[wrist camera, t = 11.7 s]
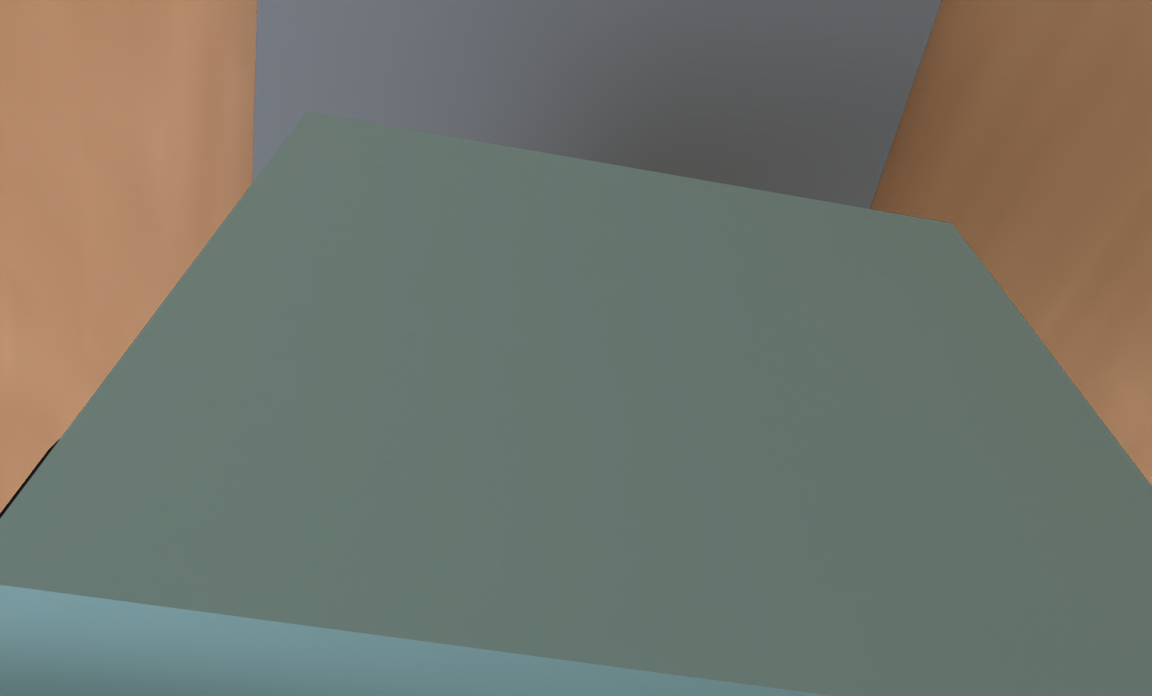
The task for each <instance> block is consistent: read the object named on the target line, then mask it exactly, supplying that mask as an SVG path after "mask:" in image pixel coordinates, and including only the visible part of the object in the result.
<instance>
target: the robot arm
mask: <svg viewBox="0 0 1152 696" xmlns="http://www.w3.org/2000/svg"><path fill="white" fill-rule="evenodd" d="M59 440H60V439H59ZM59 440H58V441H59ZM58 441H57V442H56V443H55V444H54V445H53V446H52V447H51V448H50V449H49V450H48V451H47V453H46V454H45V455H44V457H43V458H42V459H41V461H40V462H39V463H38V464H37V466H36V467H35V468H34V470H33V471H32V472H31V474H30V475H29V476H28V478H27V479H26V480H25V482H24V483H23V484H22V486H21V487H20V488H19V490H18V491H17V492H16V494H15V495H14V496H13V497H12V499H11V500H10V501H9V503H8V504H7V505H6V507H5V508H4V509H3V511H2V512H1V513H0V518H1V517H2V516H3V514H4V513H5V512H6V510H7V509H8V508H9V506H10V505H11V504H12V502H13V501H14V500H15V498H16V497H17V496H18V494H19V493H20V492H21V490H22V489H23V488H24V486H25V485H26V484H27V483H28V481H29V480H30V479H31V477H32V476H33V475H34V473H35V472H36V471H37V469H38V468H39V467H40V465H41V464H42V463H43V461H44V460H45V459H46V457H47V456H48V455H49V453H50V452H51V451H52V449H53V448H54V447H55V445H56V444H57V443H58Z"/></svg>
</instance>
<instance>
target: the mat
mask: <svg viewBox="0 0 1152 696" xmlns="http://www.w3.org/2000/svg"><path fill="white" fill-rule="evenodd" d="M941 1H942V0H257V30H256V68H255V107H254V145H253V182H254V181H255V179H256V178H257V177H258V175H259V174H260V173H261V171H262V170H263V169H264V167H265V166H266V165H267V163H268V162H269V161H270V159H271V158H272V157H273V155H274V154H275V153H276V151H277V150H278V149H279V147H280V146H281V145H282V143H283V142H284V141H285V139H286V138H287V137H288V135H289V134H290V133H291V131H292V130H293V129H294V127H295V126H296V125H297V123H298V122H299V121H300V119H301V118H302V117H303V115H304V114H305V113H306V111H307V112H313V113H318V114H324V115H330V116H336V117H341V118H347V119H353V120H359V121H365V122H370V123H376V124H382V125H388V126H393V127H399V128H405V129H411V130H417V131H422V132H428V133H434V134H440V135H445V136H451V137H457V138H463V139H469V140H474V141H480V142H486V143H492V144H497V145H503V146H509V147H515V148H521V149H526V150H532V151H538V152H544V153H549V154H555V155H561V156H567V157H572V158H578V159H584V160H590V161H596V162H601V163H607V164H613V165H619V166H624V167H630V168H636V169H642V170H648V171H653V172H659V173H665V174H671V175H676V176H682V177H688V178H694V179H700V180H705V181H711V182H717V183H723V184H728V185H734V186H740V187H746V188H752V189H757V190H763V191H769V192H775V193H780V194H786V195H792V196H798V197H804V198H809V199H815V200H821V201H827V202H832V203H838V204H844V205H850V206H855V207H861V208H867V209H870V208H871V205H872V202H873V199H874V196H875V193H876V190H877V187H878V184H879V181H880V179H881V176H882V173H883V170H884V167H885V164H886V161H887V158H888V155H889V152H890V149H891V147H892V144H893V141H894V138H895V135H896V132H897V129H898V126H899V123H900V120H901V117H902V115H903V112H904V109H905V106H906V103H907V100H908V97H909V94H910V91H911V88H912V85H913V83H914V80H915V77H916V74H917V71H918V68H919V65H920V62H921V59H922V56H923V54H924V51H925V48H926V45H927V42H928V39H929V36H930V33H931V30H932V27H933V24H934V22H935V19H936V16H937V13H938V10H939V7H940V4H941Z"/></svg>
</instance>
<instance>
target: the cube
mask: <svg viewBox="0 0 1152 696" xmlns="http://www.w3.org/2000/svg"><path fill="white" fill-rule="evenodd" d="M0 696H1152V486H1151V485H1150V483H1149V482H1148V481H1147V479H1146V478H1145V477H1144V475H1143V474H1142V473H1141V471H1140V470H1139V469H1138V468H1137V466H1136V465H1135V464H1134V462H1133V461H1132V460H1131V458H1130V457H1129V456H1128V454H1127V453H1126V452H1125V450H1124V449H1123V448H1122V446H1121V445H1120V444H1119V442H1118V441H1117V440H1116V439H1115V437H1114V436H1113V435H1112V433H1111V432H1110V431H1109V429H1108V428H1107V427H1106V425H1105V424H1104V423H1103V421H1102V420H1101V419H1100V417H1099V416H1098V415H1097V413H1096V412H1095V411H1094V410H1093V408H1092V407H1091V406H1090V404H1089V403H1088V402H1087V400H1086V399H1085V398H1084V396H1083V395H1082V394H1081V392H1080V391H1079V390H1078V388H1077V387H1076V386H1075V385H1074V383H1073V382H1072V381H1071V379H1070V378H1069V377H1068V375H1067V374H1066V373H1065V371H1064V370H1063V369H1062V367H1061V366H1060V365H1059V363H1058V362H1057V361H1056V359H1055V358H1054V357H1053V356H1052V354H1051V353H1050V352H1049V350H1048V349H1047V348H1046V346H1045V345H1044V344H1043V342H1042V341H1041V340H1040V338H1039V337H1038V336H1037V334H1036V333H1035V332H1034V330H1033V329H1032V328H1031V327H1030V325H1029V324H1028V323H1027V321H1026V320H1025V319H1024V317H1023V316H1022V315H1021V313H1020V312H1019V311H1018V309H1017V308H1016V307H1015V305H1014V304H1013V303H1012V301H1011V300H1010V299H1009V298H1008V296H1007V295H1006V294H1005V292H1004V291H1003V290H1002V288H1001V287H1000V286H999V284H998V283H997V282H996V280H995V279H994V278H993V276H992V275H991V274H990V273H989V271H988V270H987V269H986V267H985V266H984V265H983V263H982V262H981V261H980V259H979V258H978V257H977V255H976V254H975V253H974V251H973V250H972V249H971V247H970V246H969V245H968V244H967V242H966V241H965V240H964V238H963V237H962V236H961V234H960V233H959V232H958V230H957V229H956V228H955V226H954V225H953V224H952V223H948V222H942V221H936V220H931V219H925V218H919V217H913V216H907V215H902V214H896V213H890V212H884V211H879V210H873V209H867V208H861V207H855V206H850V205H844V204H838V203H832V202H827V201H821V200H815V199H809V198H804V197H798V196H792V195H786V194H780V193H775V192H769V191H763V190H757V189H752V188H746V187H740V186H734V185H728V184H723V183H717V182H711V181H705V180H700V179H694V178H688V177H682V176H676V175H671V174H665V173H659V172H653V171H648V170H642V169H636V168H630V167H624V166H619V165H613V164H607V163H601V162H596V161H590V160H584V159H578V158H572V157H567V156H561V155H555V154H549V153H544V152H538V151H532V150H526V149H521V148H515V147H509V146H503V145H497V144H492V143H486V142H480V141H474V140H469V139H463V138H457V137H451V136H445V135H440V134H434V133H428V132H422V131H417V130H411V129H405V128H399V127H393V126H388V125H382V124H376V123H370V122H365V121H359V120H353V119H347V118H341V117H336V116H330V115H324V114H318V113H313V112H307V111H306V113H305V114H304V115H303V117H302V118H301V119H300V121H299V122H298V123H297V125H296V126H295V127H294V129H293V130H292V131H291V133H290V134H289V135H288V137H287V138H286V139H285V141H284V142H283V143H282V145H281V146H280V147H279V149H278V150H277V151H276V153H275V154H274V155H273V157H272V158H271V159H270V161H269V162H268V163H267V165H266V166H265V167H264V169H263V170H262V171H261V173H260V174H259V175H258V177H257V178H256V179H255V181H254V182H253V183H252V185H251V186H250V187H249V189H248V190H247V191H246V193H245V194H244V195H243V197H242V198H241V199H240V201H239V202H238V203H237V204H236V206H235V207H234V208H233V210H232V211H231V212H230V214H229V215H228V216H227V218H226V219H225V220H224V222H223V223H222V224H221V226H220V227H219V228H218V230H217V231H216V232H215V234H214V235H213V236H212V238H211V239H210V240H209V242H208V243H207V244H206V246H205V247H204V248H203V250H202V251H201V252H200V254H199V255H198V256H197V258H196V259H195V260H194V262H193V263H192V264H191V266H190V267H189V268H188V270H187V271H186V272H185V274H184V275H183V276H182V278H181V279H180V280H179V282H178V283H177V284H176V286H175V287H174V288H173V290H172V291H171V292H170V294H169V295H168V296H167V298H166V299H165V300H164V302H163V303H162V304H161V306H160V307H159V308H158V310H157V311H156V312H155V314H154V315H153V316H152V318H151V319H150V320H149V322H148V323H147V324H146V326H145V327H144V328H143V330H142V331H141V332H140V334H139V335H138V336H137V338H136V339H135V340H134V342H133V343H132V344H131V345H130V347H129V348H128V349H127V351H126V352H125V353H124V355H123V356H122V357H121V359H120V360H119V361H118V363H117V364H116V365H115V367H114V368H113V369H112V371H111V372H110V373H109V375H108V376H107V377H106V379H105V380H104V381H103V383H102V384H101V385H100V387H99V388H98V389H97V391H96V392H95V393H94V395H93V396H92V397H91V399H90V400H89V401H88V403H87V404H86V405H85V407H84V408H83V409H82V411H81V412H80V413H79V415H78V416H77V417H76V419H75V420H74V421H73V423H72V424H71V425H70V427H69V428H68V429H67V431H66V432H65V433H64V435H63V436H62V437H61V439H60V440H59V441H58V443H57V444H56V445H55V447H54V448H53V449H52V451H51V452H50V453H49V455H48V456H47V457H46V459H45V460H44V461H43V463H42V464H41V465H40V467H39V468H38V469H37V471H36V472H35V473H34V475H33V476H32V477H31V479H30V480H29V481H28V483H27V484H26V485H25V486H24V488H23V489H22V490H21V492H20V493H19V494H18V496H17V497H16V498H15V500H14V501H13V502H12V504H11V505H10V506H9V508H8V509H7V510H6V512H5V513H4V514H3V516H2V517H1V518H0Z"/></svg>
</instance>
